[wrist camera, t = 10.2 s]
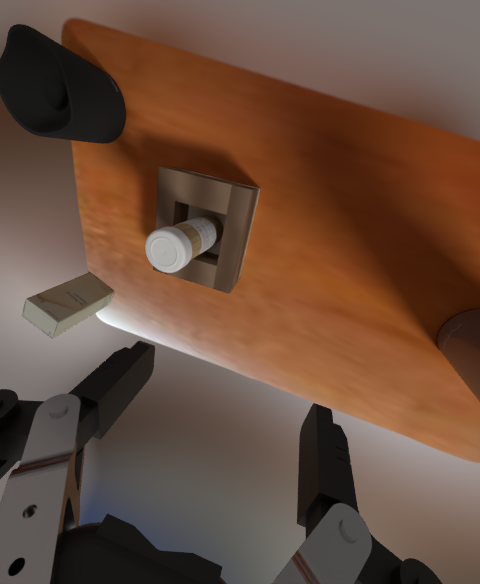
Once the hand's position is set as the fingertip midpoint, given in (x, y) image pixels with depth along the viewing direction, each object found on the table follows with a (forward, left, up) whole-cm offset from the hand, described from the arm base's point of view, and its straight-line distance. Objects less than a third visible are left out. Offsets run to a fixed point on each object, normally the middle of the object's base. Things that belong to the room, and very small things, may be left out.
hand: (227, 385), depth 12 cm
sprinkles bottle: (+11, 0, -27) cm, 29 cm away
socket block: (+11, 0, -28) cm, 30 cm away
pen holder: (+30, -12, -28) cm, 43 cm away
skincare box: (+32, +18, -28) cm, 46 cm away
